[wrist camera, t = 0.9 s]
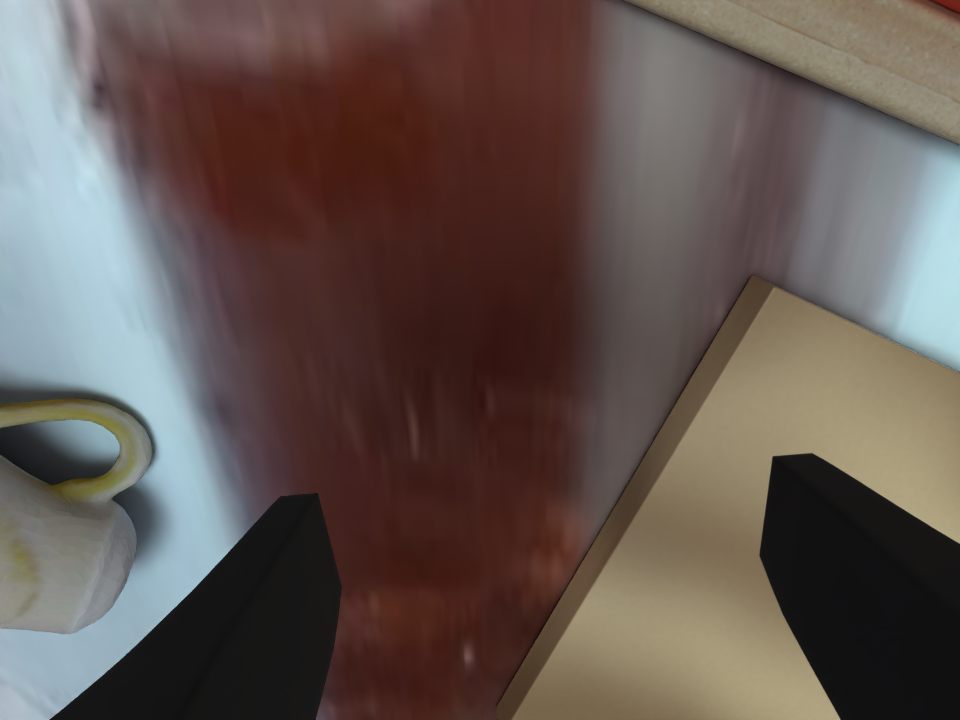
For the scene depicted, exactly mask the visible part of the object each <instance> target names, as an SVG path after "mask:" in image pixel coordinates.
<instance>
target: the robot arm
mask: <svg viewBox="0 0 960 720" xmlns="http://www.w3.org/2000/svg"><path fill="white" fill-rule="evenodd" d="M759 556H760V559H761V561H762V564H763V566H764V569H765V572H766V574H767V577H768V579H769V582H770V585H771V587H772V590H773V592H774V595H775V597H776V599H777V602H778V604H779V607H780V609H781V611H782V614H783V616H784V618H785V620H786V622H787V624H788V625H789V627H790V629H791V631H792V633H793V635H794V637H795V638H796V640H797V642H798V644H799V646H800V648H801V649H802V651H803V653H804V655H805V657H806V658H807V660H808V662H809V664H810V666H811V668H812V669H813V671H814V673H815V675H816V677H817V678H818V680H819V682H820V684H821V685H822V687H823V689H824V691H825V693H826V694H827V696H828V698H829V700H830V702H831V703H832V705H833V707H834V709H835V711H836V712H837V714H838V716H839V718H840V720H960V544H959V543H958V542H956V541H954V540H953V539H951V538H949V537H948V536H946V535H944V534H943V533H941V532H939V531H938V530H936V529H934V528H933V527H931V526H930V525H928V524H926V523H925V522H923V521H921V520H920V519H918V518H917V517H915V516H913V515H912V514H910V513H909V512H907V511H905V510H904V509H902V508H901V507H899V506H897V505H896V504H894V503H893V502H891V501H889V500H888V499H886V498H885V497H883V496H882V495H880V494H878V493H877V492H875V491H874V490H872V489H871V488H869V487H867V486H866V485H864V484H863V483H861V482H859V481H858V480H856V479H855V478H853V477H852V476H850V475H848V474H847V473H845V472H844V471H842V470H840V469H839V468H837V467H835V466H834V465H832V464H831V463H829V462H827V461H826V460H824V459H822V458H820V457H819V456H817V455H815V454H813V453H805V454H793V455H781V456H773V457H772V464H771V472H770V479H769V486H768V494H767V501H766V509H765V516H764V524H763V531H762V538H761V546H760V553H759ZM341 590H342V586H341V582H340V578H339V574H338V570H337V566H336V563H335V559H334V555H333V551H332V547H331V543H330V539H329V535H328V531H327V527H326V524H325V520H324V516H323V512H322V508H321V504H320V500H319V496H318V493H314V494H302V495H290V496H280V497H279V498H278V499H277V500H276V501H275V502H274V503H273V504H272V505H271V507H270V508H269V509H268V510H267V511H266V512H265V513H264V514H263V515H262V516H261V517H260V518H259V520H258V521H257V522H256V523H255V524H254V525H253V526H252V527H251V528H250V529H249V531H248V532H247V533H246V534H245V535H244V536H243V537H242V538H241V539H240V540H239V542H238V543H237V544H236V545H235V546H234V547H233V548H232V549H231V550H230V551H229V552H228V554H227V555H226V556H225V557H224V558H223V559H222V560H221V561H220V562H219V563H218V564H217V565H216V566H215V567H214V568H213V569H212V570H211V572H210V573H209V574H208V575H207V576H206V577H205V578H204V579H203V580H202V581H201V582H200V583H199V584H198V585H197V586H196V587H195V588H194V590H193V591H192V592H191V593H190V594H189V595H188V596H187V597H186V598H184V599H183V600H182V601H181V602H180V603H179V604H178V605H177V606H176V607H175V608H174V609H173V610H172V611H171V612H170V613H169V614H168V615H167V616H166V617H165V618H164V619H163V620H162V621H161V622H160V623H159V624H158V625H157V626H156V627H155V628H154V629H153V630H152V631H151V632H150V633H149V634H148V635H147V636H145V637H144V638H143V639H142V640H141V641H140V642H139V643H138V644H137V645H136V646H135V647H134V648H133V649H132V650H131V651H130V652H129V653H127V654H126V655H125V656H124V657H123V658H122V659H121V660H120V661H119V662H118V663H116V664H115V665H114V666H113V667H112V668H111V669H110V670H108V671H107V672H106V673H105V674H104V675H103V676H102V677H100V678H99V679H98V680H97V681H96V682H95V683H93V684H92V685H91V686H90V687H89V688H87V689H86V690H85V691H84V692H83V693H81V694H80V695H79V696H78V697H77V698H75V699H74V700H73V701H72V702H71V703H70V704H68V705H67V706H66V707H65V708H64V709H62V710H61V711H60V712H59V713H57V714H56V715H55V716H54V717H52V718H51V719H50V720H316V716H317V712H318V709H319V705H320V701H321V697H322V693H323V689H324V685H325V681H326V677H327V674H328V670H329V666H330V662H331V658H332V653H333V649H334V643H335V636H336V629H337V622H338V615H339V607H340V598H341Z"/></svg>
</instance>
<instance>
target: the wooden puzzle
mask: <svg viewBox="0 0 960 720" xmlns="http://www.w3.org/2000/svg"><path fill="white" fill-rule="evenodd" d="M624 1H627V2H629V3H631V4H634V5H636V6H638V7H641V8H643V9H645V10H648V11H650V12H652V13H655V14H657V15H659V16H662V17H664V18H666V19H669V20H671V21H673V22H676V23H678V24H680V25H682V26H685V27H687V28H689V29H692V30H694V31H696V32H699V33H701V34H703V35H706V36H708V37H710V38H713V39H715V40H717V41H720V42H722V43H724V44H727V45H729V46H731V47H734V48H736V49H738V50H741V51H743V52H745V53H747V54H750V55H752V56H754V57H757V58H759V59H761V60H764V61H766V62H768V63H771V64H773V65H775V66H778V67H780V68H782V69H785V70H787V71H789V72H792V73H794V74H796V75H799V76H801V77H803V78H806V79H808V80H810V81H812V82H815V83H817V84H819V85H822V86H824V87H826V88H829V89H831V90H833V91H836V92H838V93H840V94H843V95H845V96H847V97H850V98H852V99H854V100H857V101H859V102H861V103H863V104H866V105H868V106H870V107H873V108H875V109H877V110H880V111H882V112H884V113H886V114H889V115H891V116H893V117H896V118H898V119H900V120H903V121H905V122H907V123H910V124H912V125H914V126H916V127H919V128H921V129H923V130H926V131H928V132H930V133H933V134H935V135H937V136H939V137H942V138H944V139H946V140H949V141H951V142H953V143H956V144H958V145H960V0H624Z"/></svg>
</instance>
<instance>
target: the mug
mask: <svg viewBox="0 0 960 720" xmlns="http://www.w3.org/2000/svg"><path fill="white" fill-rule="evenodd" d="M60 420H84V421H91V422H94V423H97V424H99V425H102V426H103V427H105V428H106V429H107V430H109V431H110V432H111V433H113V434H114V435H115V436H116V438H117V440H118V442H119V444H120V455H119V456H118V458H117V460H116V462H115V464H114V466H113V467H112V468H111V469H110V470H109V471H108V472H107V473H106V474H104V475H101V476H99V477H96V478H86V479H84V478H75V479H70V480H68V481H65V482H62V483H59V484H55V485H50V484H48V483H46V482H44V481H42V480H40V479H38V478H36V477H34V476H32V475H30V474H29V473H27V472H25V471H24V470H22V469H21V468H19V467H17V466H16V465H14V464H13V463H11V462H10V461H9V460H7V459H6V458H4V457H3V456H1V455H0V629H22V630H32V631H43V632H53V633H60V634H71V633H75V632H77V631H79V630H80V629H82V628H84V627H86V626H88V625H90V624H92V623H94V622H96V621H97V620H99V619H100V618H101V617H103V616H104V615H105V614H106V613H107V612H108V611H109V610H110V609H111V607H112V606H113V605H114V603H115V601H116V600H117V598H118V596H119V595H120V593H121V592H122V590H123V588H124V586H125V584H126V582H127V579H128V576H129V573H130V569H131V566H132V564H133V561H134V558H135V556H136V548H137V540H136V532H135V528H134V525H133V523H132V520H131V519H130V518H129V516H128V515H127V513H126V512H125V510H124V509H123V508H122V506H120V505H119V504H117V503H116V502H114V501H113V500H112V498H113V497H114V496H115V495H116V494H118V493H119V492H121V491H123V490H125V489H127V488H129V487H130V486H132V485H134V484H135V483H136V482H138V481H139V480H140V478H141V477H142V476H143V474H144V473H145V471H146V470H147V468H148V467H149V465H150V461H151V456H152V445H151V441H150V439H149V437H148V434H147V432H146V430H145V428H144V427H143V426H142V425H141V424H140V423H139V422H138V421H137V420H136V419H135V418H134V417H132V416H131V415H129V414H127V413H126V412H124V411H122V410H120V409H118V408H116V407H114V406H112V405H109V404H106V403H103V402H98V401H94V400H89V399H79V398H63V399H51V400H40V401H30V402H19V403H0V428H4V427H9V426H13V425H20V424H27V423H35V422H43V421H60Z"/></svg>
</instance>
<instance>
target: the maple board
mask: <svg viewBox="0 0 960 720" xmlns="http://www.w3.org/2000/svg"><path fill="white" fill-rule="evenodd" d="M805 453H813V454H815V455H817V456H819V457H820V458H822V459H824V460H826V461H827V462H829V463H831V464H832V465H834V466H835V467H837V468H839V469H840V470H842V471H844V472H845V473H847V474H848V475H850V476H852V477H853V478H855V479H856V480H858V481H859V482H861V483H863V484H864V485H866V486H867V487H869V488H871V489H872V490H874V491H875V492H877V493H878V494H880V495H882V496H883V497H885V498H886V499H888V500H889V501H891V502H893V503H894V504H896V505H897V506H899V507H901V508H902V509H904V510H905V511H907V512H909V513H910V514H912V515H913V516H915V517H917V518H918V519H920V520H921V521H923V522H925V523H926V524H928V525H930V526H931V527H933V528H934V529H936V530H938V531H939V532H941V533H943V534H944V535H946V536H948V537H949V538H951V539H953V540H954V541H956V542H958V543H959V544H960V372H958V371H956V370H954V369H952V368H950V367H948V366H945V365H943V364H941V363H939V362H937V361H935V360H933V359H931V358H928V357H926V356H924V355H922V354H920V353H918V352H916V351H914V350H911V349H909V348H907V347H905V346H903V345H901V344H899V343H897V342H894V341H892V340H890V339H888V338H886V337H884V336H882V335H880V334H877V333H875V332H873V331H871V330H869V329H867V328H865V327H863V326H860V325H858V324H856V323H854V322H852V321H850V320H848V319H846V318H843V317H841V316H839V315H837V314H835V313H833V312H831V311H829V310H826V309H824V308H822V307H820V306H818V305H816V304H814V303H812V302H809V301H807V300H805V299H803V298H801V297H799V296H797V295H795V294H792V293H790V292H788V291H786V290H784V289H782V288H780V287H778V286H775V285H773V284H771V283H769V282H767V281H765V280H763V279H760V278H758V277H756V276H754V275H752V276H751V278H750V279H749V281H748V283H747V284H746V286H745V288H744V289H743V291H742V293H741V294H740V296H739V298H738V300H737V301H736V303H735V305H734V306H733V308H732V310H731V311H730V313H729V315H728V316H727V318H726V320H725V322H724V323H723V325H722V327H721V328H720V330H719V332H718V333H717V335H716V337H715V338H714V340H713V342H712V344H711V345H710V347H709V349H708V350H707V352H706V354H705V355H704V357H703V359H702V360H701V362H700V364H699V365H698V367H697V369H696V371H695V372H694V374H693V376H692V377H691V379H690V381H689V382H688V384H687V386H686V387H685V389H684V391H683V393H682V394H681V396H680V398H679V399H678V401H677V403H676V404H675V406H674V408H673V409H672V411H671V413H670V414H669V416H668V418H667V420H666V421H665V423H664V425H663V426H662V428H661V430H660V431H659V433H658V435H657V436H656V438H655V440H654V442H653V443H652V445H651V447H650V448H649V450H648V452H647V453H646V455H645V457H644V458H643V460H642V462H641V463H640V465H639V467H638V469H637V470H636V472H635V474H634V475H633V477H632V479H631V480H630V482H629V484H628V485H627V487H626V489H625V491H624V492H623V494H622V496H621V497H620V499H619V501H618V502H617V504H616V506H615V507H614V509H613V511H612V513H611V514H610V516H609V518H608V519H607V521H606V523H605V524H604V526H603V528H602V529H601V531H600V533H599V534H598V536H597V538H596V540H595V541H594V543H593V545H592V546H591V548H590V550H589V551H588V553H587V555H586V556H585V558H584V560H583V562H582V563H581V565H580V567H579V568H578V570H577V572H576V573H575V575H574V577H573V578H572V580H571V582H570V583H569V585H568V587H567V589H566V590H565V592H564V594H563V595H562V597H561V599H560V600H559V602H558V604H557V605H556V607H555V609H554V611H553V612H552V614H551V616H550V617H549V619H548V621H547V622H546V624H545V626H544V627H543V629H542V631H541V633H540V634H539V636H538V638H537V639H536V641H535V643H534V644H533V646H532V648H531V649H530V651H529V653H528V654H527V656H526V658H525V660H524V661H523V663H522V665H521V666H520V668H519V670H518V671H517V673H516V675H515V676H514V678H513V680H512V682H511V683H510V685H509V687H508V688H507V690H506V692H505V693H504V695H503V697H502V698H501V700H500V702H499V703H498V705H497V707H496V711H497V720H840V718H839V716H838V714H837V712H836V711H835V709H834V707H833V705H832V703H831V702H830V700H829V698H828V696H827V694H826V693H825V691H824V689H823V687H822V685H821V684H820V682H819V680H818V678H817V677H816V675H815V673H814V671H813V669H812V668H811V666H810V664H809V662H808V660H807V658H806V657H805V655H804V653H803V651H802V649H801V648H800V646H799V644H798V642H797V640H796V638H795V637H794V635H793V633H792V631H791V629H790V627H789V625H788V624H787V622H786V620H785V618H784V616H783V614H782V611H781V609H780V607H779V604H778V602H777V599H776V597H775V595H774V592H773V590H772V587H771V585H770V582H769V579H768V577H767V574H766V572H765V569H764V566H763V564H762V561H761V559H760V556H759V553H760V546H761V538H762V531H763V524H764V516H765V509H766V501H767V494H768V486H769V479H770V472H771V464H772V457H773V456H781V455H793V454H805Z"/></svg>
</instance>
